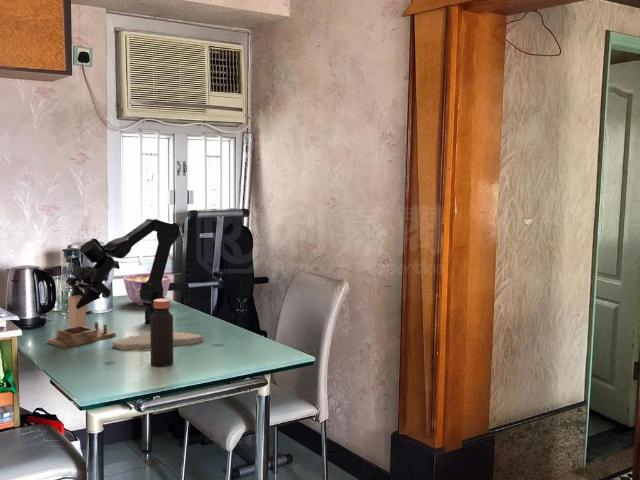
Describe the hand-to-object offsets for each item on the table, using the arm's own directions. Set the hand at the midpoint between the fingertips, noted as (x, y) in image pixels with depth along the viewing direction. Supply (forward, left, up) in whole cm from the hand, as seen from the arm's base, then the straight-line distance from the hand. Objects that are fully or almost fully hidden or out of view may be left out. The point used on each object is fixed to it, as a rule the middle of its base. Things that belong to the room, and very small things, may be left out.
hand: (73, 307), depth 228 cm
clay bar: (-1, -1, -7) cm, 7 cm away
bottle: (-38, +19, -12) cm, 44 cm away
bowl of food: (-3, -62, -12) cm, 63 cm away
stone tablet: (-28, -5, -13) cm, 31 cm away
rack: (-2, -3, -12) cm, 12 cm away
